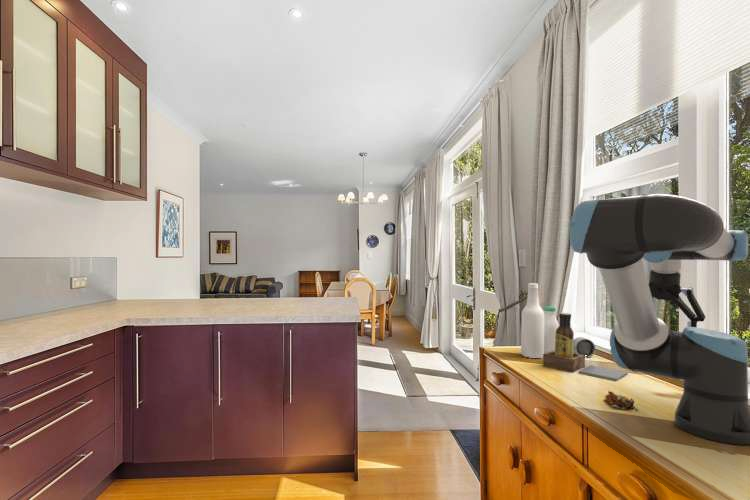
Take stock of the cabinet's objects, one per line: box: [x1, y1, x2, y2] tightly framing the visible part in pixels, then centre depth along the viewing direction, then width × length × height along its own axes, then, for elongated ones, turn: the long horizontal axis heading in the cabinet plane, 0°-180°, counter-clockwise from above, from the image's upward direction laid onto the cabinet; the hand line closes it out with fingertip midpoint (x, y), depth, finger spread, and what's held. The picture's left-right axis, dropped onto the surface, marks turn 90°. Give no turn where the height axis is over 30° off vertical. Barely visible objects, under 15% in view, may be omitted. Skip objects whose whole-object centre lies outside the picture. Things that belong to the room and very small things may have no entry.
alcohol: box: [520, 282, 544, 359], centre depth 166 cm, size 9×9×30 cm
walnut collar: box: [542, 350, 586, 373], centre depth 150 cm, size 11×11×4 cm
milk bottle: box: [543, 306, 560, 354], centre depth 170 cm, size 8×8×20 cm
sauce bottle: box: [555, 312, 575, 358], centre depth 151 cm, size 6×6×20 cm
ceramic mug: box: [573, 336, 596, 358], centre depth 169 cm, size 11×8×8 cm
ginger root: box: [602, 390, 640, 412], centre depth 113 cm, size 7×12×4 cm, turn 171°
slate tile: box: [578, 364, 629, 382], centre depth 142 cm, size 12×12×1 cm
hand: (661, 335), depth 126 cm, fingers open, 13 cm apart
